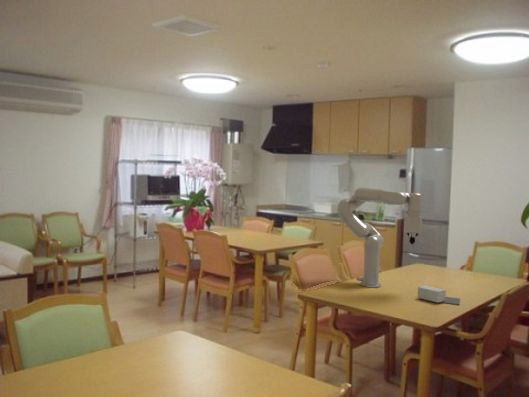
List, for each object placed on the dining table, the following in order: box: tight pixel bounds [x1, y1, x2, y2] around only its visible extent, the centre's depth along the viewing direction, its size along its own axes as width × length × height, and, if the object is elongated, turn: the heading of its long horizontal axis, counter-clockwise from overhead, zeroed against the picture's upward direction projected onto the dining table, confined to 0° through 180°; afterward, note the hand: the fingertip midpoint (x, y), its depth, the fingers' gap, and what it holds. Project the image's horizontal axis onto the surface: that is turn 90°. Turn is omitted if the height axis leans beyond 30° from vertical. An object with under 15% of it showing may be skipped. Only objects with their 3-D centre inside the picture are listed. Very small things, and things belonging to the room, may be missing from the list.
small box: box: [417, 285, 447, 303], centre depth 279 cm, size 8×6×13 cm
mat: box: [424, 296, 461, 306], centre depth 281 cm, size 18×14×1 cm
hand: (412, 243), depth 297 cm, fingers closed
